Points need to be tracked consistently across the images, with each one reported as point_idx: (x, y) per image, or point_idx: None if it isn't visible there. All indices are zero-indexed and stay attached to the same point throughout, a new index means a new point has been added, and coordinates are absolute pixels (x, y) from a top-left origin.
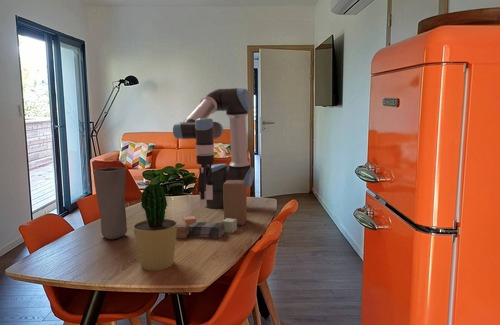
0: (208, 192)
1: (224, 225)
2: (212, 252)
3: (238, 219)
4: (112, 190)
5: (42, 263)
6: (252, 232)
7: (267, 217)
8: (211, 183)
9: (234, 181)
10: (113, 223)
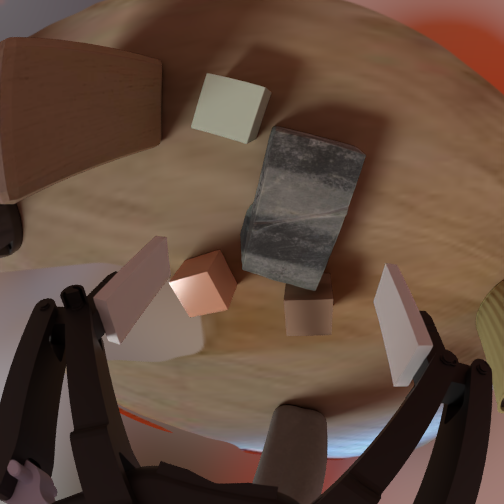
0: (145, 291)
1: (255, 129)
2: (484, 176)
3: (151, 81)
4: None
5: None
6: (266, 13)
7: (76, 17)
8: (91, 316)
9: None
10: (326, 445)
